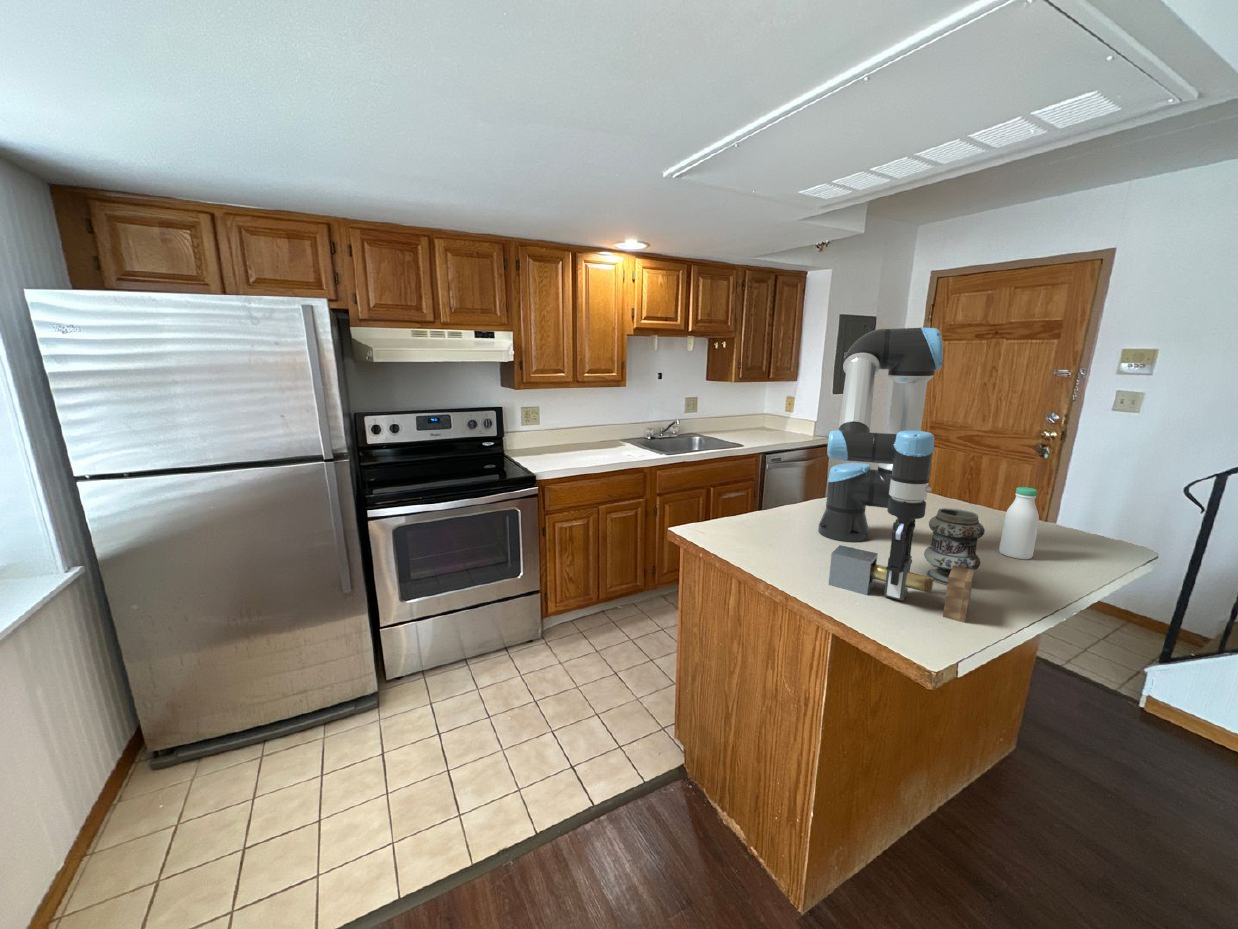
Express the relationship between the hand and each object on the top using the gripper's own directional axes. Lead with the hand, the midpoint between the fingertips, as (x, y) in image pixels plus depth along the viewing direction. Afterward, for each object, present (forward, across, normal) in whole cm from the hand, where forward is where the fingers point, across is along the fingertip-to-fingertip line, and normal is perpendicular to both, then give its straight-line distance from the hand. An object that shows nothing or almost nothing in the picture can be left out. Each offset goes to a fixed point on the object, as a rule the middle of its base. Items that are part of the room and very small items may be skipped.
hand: (895, 591), depth 117 cm
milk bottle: (+1, +51, -22) cm, 55 cm away
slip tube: (+1, 0, +3) cm, 3 cm away
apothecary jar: (+1, +20, -9) cm, 22 cm away
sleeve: (+1, 0, +10) cm, 10 cm away
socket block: (+1, 0, -12) cm, 12 cm away
